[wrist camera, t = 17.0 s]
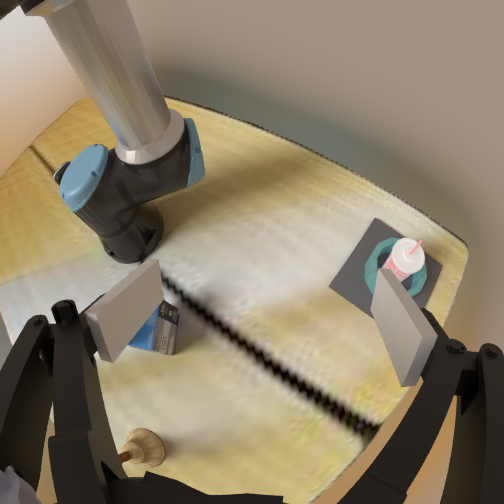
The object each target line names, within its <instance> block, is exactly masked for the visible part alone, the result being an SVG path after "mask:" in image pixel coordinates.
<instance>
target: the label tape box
mask: <svg viewBox="0 0 504 504" xmlns="http://www.w3.org/2000/svg"><path fill="white" fill-rule="evenodd" d="M179 312H180V310H178V309H177V308H175V307H174V306H172V305H171V304H169V303H168V302H166V301H165V300H163V301H162V302H161V304H160V305H159V306H158V307H157V308H156V310H155V311H154V312H153V313H152V315H151V316H150V317H149V318H148V319H147V321H146V322H145V323H144V324H143V326H142V327H141V328H140V329H139V331H138V332H137V333H136V334H135V336H134V337H133V338H132V339H131V341H130V342H129V343H128V345H129V346H131V347H135V348H139V349H143V350H147V351H151V352H155V353H160V354H166V355H173V352H174V345H175V338H176V331H177V324H178V318H179Z"/></svg>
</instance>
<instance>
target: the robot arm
mask: <svg viewBox="0 0 504 504" xmlns="http://www.w3.org/2000/svg"><path fill="white" fill-rule="evenodd" d="M19 5H20V6H21V8H22V10H23V12H24V14H25V15H26V16H41V17H44V19H45V20H46V22H47V24H48V26H49V28H50V30H51V31H52V33H53V35H54V37H55V39H56V40H57V42H58V44H59V46H60V47H61V49H62V51H63V52H64V54H65V56H66V58H67V59H68V61H69V63H70V64H71V66H72V68H73V69H74V71H75V73H76V74H77V76H78V77H79V79H80V81H81V82H82V84H83V86H84V87H85V89H86V91H87V92H88V94H89V95H90V97H91V98H92V100H93V102H94V103H95V105H96V106H97V108H98V109H99V111H100V112H101V114H102V116H103V117H104V119H105V120H106V122H107V123H108V125H109V126H110V128H111V129H112V131H113V132H114V134H115V135H116V137H117V139H116V143H115V148H113V149H111V150H109V151H108V148H107V147H105V146H104V145H102V144H94V145H91V146H89V147H87V148H86V149H84V150H83V151H82V152H80V153H79V154H78V155H77V156H76V157H75V158H74V159H73V161H72V162H71V163H70V165H69V166H68V167H67V169H66V171H65V173H64V175H63V177H62V180H61V183H60V195H61V198H62V199H63V201H64V202H65V203H66V204H67V206H68V207H69V209H70V210H71V211H72V212H74V213H75V214H76V215H77V216H78V217H79V218H80V219H81V220H82V221H83V222H85V223H86V224H87V225H88V226H89V227H90V228H91V229H92V230H93V231H94V232H95V233H97V234H98V236H99V238H100V241H101V243H102V245H103V247H104V249H105V251H106V253H107V254H108V255H109V256H110V257H112V258H113V259H114V260H115V261H117V262H119V263H124V264H130V263H134V262H137V261H140V260H142V259H143V258H145V257H146V256H148V255H149V254H150V253H151V252H152V251H153V250H154V249H155V247H156V246H157V244H158V243H159V241H160V239H161V236H162V233H163V219H162V216H161V214H160V213H159V211H158V210H157V208H156V207H155V206H154V205H153V204H152V203H150V202H149V201H151V200H154V199H157V198H159V197H162V196H165V195H168V194H170V193H173V192H176V191H179V190H182V189H186V188H188V187H189V186H190V185H193V184H195V183H198V182H200V181H201V180H202V179H203V177H204V174H205V167H204V160H203V155H202V151H201V146H200V141H199V137H198V133H197V129H196V126H195V123H194V121H193V119H191V118H183V117H182V116H181V114H180V113H179V112H177V111H176V110H173V109H170V108H168V107H167V104H166V102H165V99H164V97H163V94H162V92H161V89H160V87H159V84H158V82H157V79H156V77H155V74H154V71H153V69H152V66H151V64H150V61H149V59H148V56H147V53H146V51H145V48H144V46H143V43H142V41H141V38H140V35H139V33H138V30H137V27H136V25H135V22H134V19H133V17H132V14H131V11H130V9H129V6H128V3H127V0H0V20H1V19H2V18H4V17H5V16H6V15H7V14H8V13H10V12H11V11H12V10H14V9H15V8H16V7H17V6H19ZM163 300H164V293H163V287H162V280H161V274H160V267H159V260H158V259H147V260H146V261H145V262H144V263H142V264H141V265H140V266H139V267H137V268H136V269H135V270H134V271H132V272H131V273H130V274H129V275H128V276H126V277H125V278H124V279H123V280H121V281H120V282H119V283H118V284H117V285H115V286H114V287H113V288H112V289H111V290H110V291H108V292H107V293H105V294H103V295H101V296H100V297H98V298H97V299H96V300H95V301H94V302H92V303H91V305H89V306H88V307H87V308H86V309H84V310H83V311H82V312H81V313H80V314H78V311H77V308H76V305H75V302H74V301H73V300H62V301H59V302H57V303H55V304H54V305H53V306H52V308H51V310H52V313H53V316H54V319H55V321H56V324H49V322H48V320H47V317H46V316H45V315H35V316H33V317H32V318H31V319H29V320H28V321H27V323H26V324H25V326H24V328H23V330H22V331H21V333H20V335H19V336H18V338H17V340H16V342H15V344H14V345H13V347H12V349H11V351H10V353H9V355H8V357H7V359H6V361H5V363H4V365H3V367H2V369H1V371H0V504H42V503H41V502H40V500H39V499H37V496H36V491H37V487H38V483H39V479H40V472H41V463H42V456H43V449H44V442H45V436H46V431H47V425H48V420H49V416H50V411H51V407H52V402H53V411H54V426H55V436H52V437H49V439H48V449H49V458H50V465H51V472H52V477H53V483H54V488H55V493H56V497H57V501H58V503H55V504H288V503H284V502H283V496H274V495H260V494H249V493H245V494H231V495H208V494H205V493H203V492H200V491H198V490H196V489H194V488H192V487H190V486H188V485H186V484H184V483H182V482H180V481H178V480H175V479H171V478H168V477H164V476H161V475H157V474H154V473H151V472H148V471H146V473H145V475H144V477H129V478H128V476H127V475H126V473H125V471H124V469H123V467H122V464H121V462H120V459H119V456H118V453H117V450H116V446H115V443H114V440H113V437H112V433H111V430H110V426H109V422H108V418H107V414H106V410H105V406H104V402H103V397H102V392H101V387H100V382H99V377H98V371H97V365H96V360H95V357H94V354H95V353H96V351H98V353H99V356H100V358H101V360H104V361H107V362H111V363H113V362H114V361H115V360H116V359H117V357H118V356H119V355H120V353H121V352H122V351H123V350H124V348H125V347H126V346H127V345H128V343H129V342H130V341H131V339H132V338H133V337H134V336H135V334H136V333H137V332H138V331H139V329H140V328H141V327H142V326H143V324H144V323H145V322H146V321H147V319H148V318H149V317H150V316H151V315H152V313H153V312H154V311H155V310H156V308H157V307H158V306H159V305H160V304H161V302H162V301H163ZM370 310H371V312H372V314H373V317H374V319H375V321H376V323H377V326H378V328H379V331H380V333H381V335H382V338H383V340H384V343H385V345H386V348H387V350H388V353H389V355H390V358H391V360H392V363H393V366H394V368H395V371H396V374H397V376H398V379H399V382H400V385H401V387H406V386H414V385H416V384H417V382H418V380H419V378H420V376H421V377H422V379H423V381H424V382H423V384H422V386H421V388H420V390H419V392H418V393H417V395H416V397H415V399H414V401H413V403H412V404H411V406H410V408H409V409H408V411H407V413H406V414H405V416H404V418H403V419H402V421H401V423H400V424H399V426H398V427H397V429H396V430H395V432H394V433H393V435H392V436H391V438H390V439H389V441H388V442H387V444H386V445H385V446H384V448H383V449H382V451H381V452H380V453H379V455H378V456H377V457H376V459H375V460H374V462H373V463H372V464H371V465H370V466H369V468H368V469H367V470H366V471H365V473H364V474H363V475H362V476H361V477H360V479H359V480H358V481H357V482H356V483H355V485H354V486H353V487H352V488H351V489H350V490H349V491H348V492H347V494H346V495H345V496H344V497H343V498H342V499H341V500H340V501H339V502H338V503H337V504H403V503H404V501H405V499H406V497H407V494H406V492H407V490H408V488H409V487H410V485H411V483H412V482H413V480H414V478H415V477H416V475H417V474H418V472H419V470H420V468H421V467H422V465H423V463H424V461H425V459H426V457H427V456H428V454H429V452H430V450H431V448H432V446H433V444H434V442H435V440H436V437H437V435H438V433H439V431H440V429H441V426H442V424H443V422H444V419H445V417H446V415H447V412H448V409H449V407H450V404H451V402H452V399H453V396H454V395H456V396H457V407H456V420H455V430H454V439H453V445H452V452H451V458H450V463H449V468H448V473H447V478H446V482H445V486H444V490H443V494H442V498H441V501H440V504H504V355H503V353H502V350H500V348H499V347H498V346H496V345H494V344H491V343H486V344H483V345H482V346H481V348H480V350H479V352H471V351H467V349H466V347H465V345H463V344H462V343H461V342H460V341H458V340H455V339H449V337H448V336H447V335H446V333H445V332H444V330H443V329H442V327H441V326H440V325H439V323H438V322H437V320H436V319H435V317H434V316H433V315H432V313H430V312H429V311H428V310H426V309H425V308H419V307H418V306H417V304H416V303H415V301H414V300H413V299H412V297H411V296H410V295H409V293H408V292H407V290H406V289H405V288H404V286H403V285H402V284H401V282H400V281H399V280H398V278H397V277H396V276H395V274H394V273H393V272H392V271H391V269H382V268H378V273H377V279H376V285H375V290H374V295H373V300H372V305H371V309H370ZM40 357H41V358H40Z"/></svg>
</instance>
